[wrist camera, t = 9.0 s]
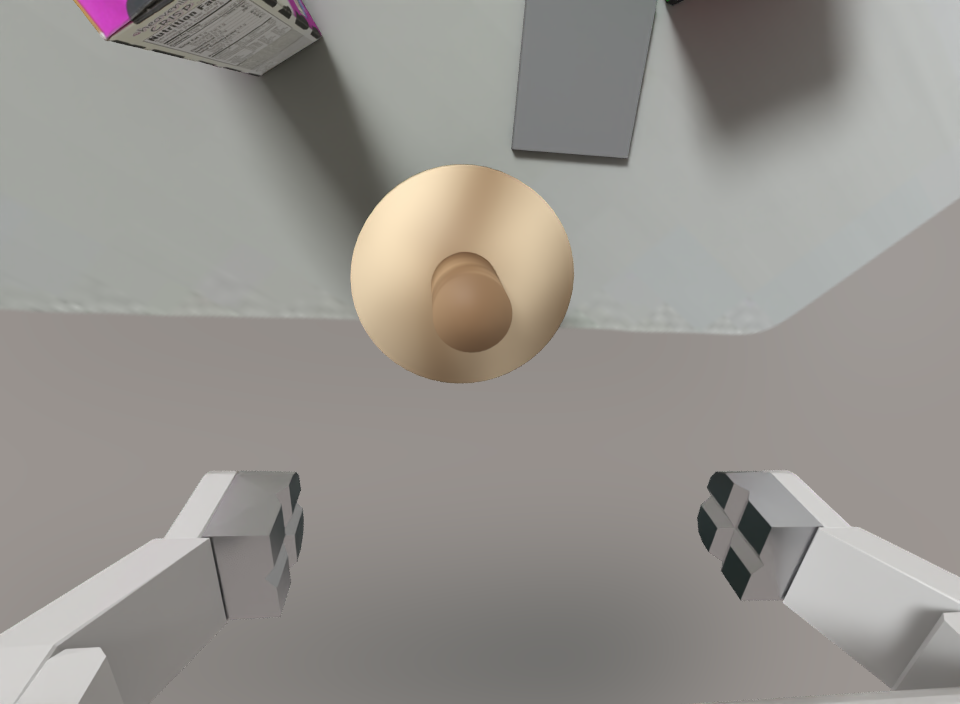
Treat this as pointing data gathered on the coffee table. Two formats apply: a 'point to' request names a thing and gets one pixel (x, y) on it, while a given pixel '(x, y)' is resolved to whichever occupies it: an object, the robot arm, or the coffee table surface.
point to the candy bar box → (208, 29)
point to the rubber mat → (581, 75)
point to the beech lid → (462, 274)
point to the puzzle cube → (673, 1)
